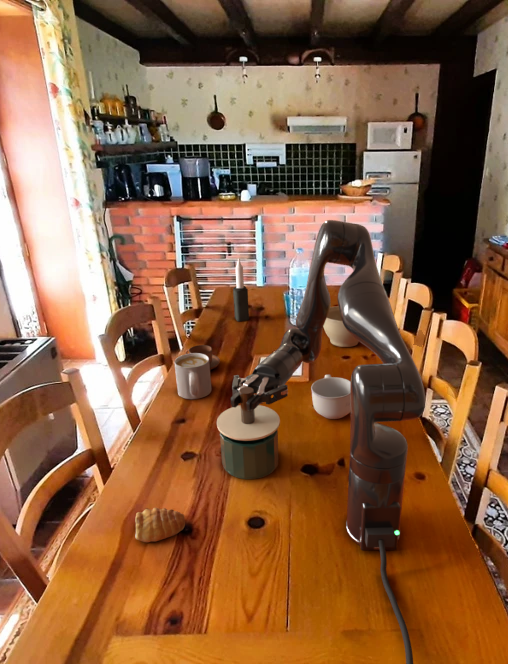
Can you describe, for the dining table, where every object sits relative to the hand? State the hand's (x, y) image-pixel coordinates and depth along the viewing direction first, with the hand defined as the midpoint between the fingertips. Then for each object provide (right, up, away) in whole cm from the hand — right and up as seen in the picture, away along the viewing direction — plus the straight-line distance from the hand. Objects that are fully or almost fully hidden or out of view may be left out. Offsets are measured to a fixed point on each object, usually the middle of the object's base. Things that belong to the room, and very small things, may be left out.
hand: (240, 405), depth 101 cm
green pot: (+2, -14, +8) cm, 16 cm away
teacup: (+25, -5, +27) cm, 37 cm away
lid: (+2, -4, +5) cm, 7 cm away
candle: (+2, +22, +96) cm, 99 cm away
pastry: (-16, -22, -9) cm, 29 cm away
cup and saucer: (-12, +5, +56) cm, 58 cm away
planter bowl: (+38, +13, +68) cm, 79 cm away
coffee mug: (-13, -2, +40) cm, 42 cm away
